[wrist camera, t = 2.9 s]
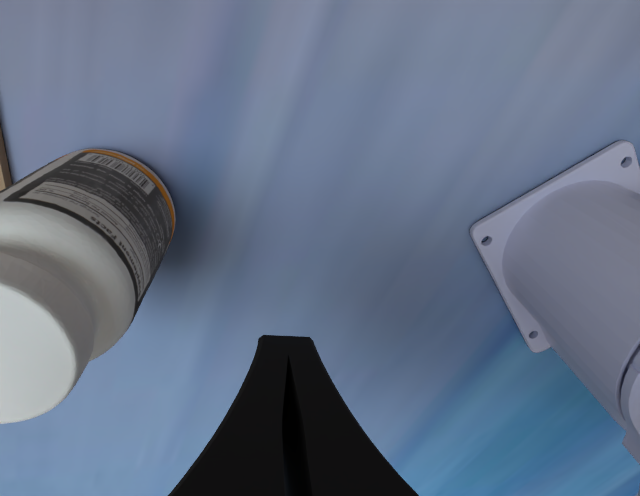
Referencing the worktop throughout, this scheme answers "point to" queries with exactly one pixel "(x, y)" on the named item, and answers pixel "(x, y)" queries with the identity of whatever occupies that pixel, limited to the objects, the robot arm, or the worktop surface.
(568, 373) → the worktop surface
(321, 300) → the worktop surface
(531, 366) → the worktop surface
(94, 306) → the pill bottle
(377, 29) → the worktop surface
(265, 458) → the robot arm
